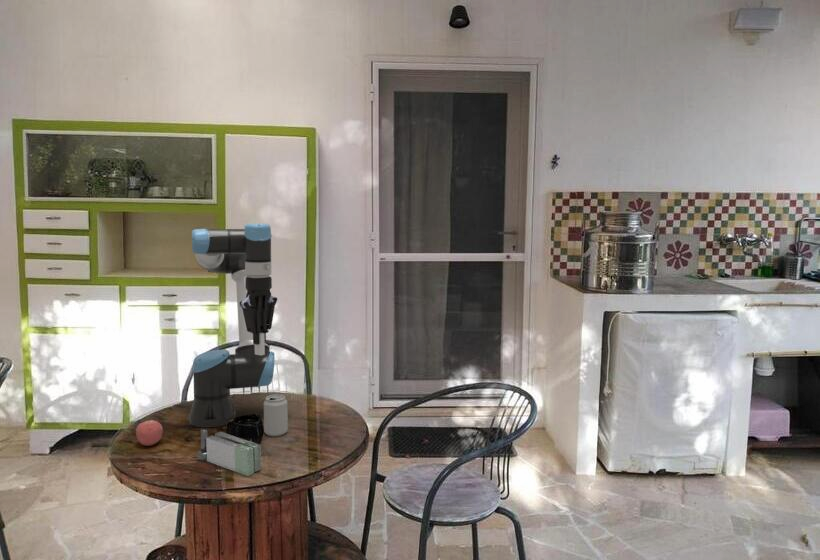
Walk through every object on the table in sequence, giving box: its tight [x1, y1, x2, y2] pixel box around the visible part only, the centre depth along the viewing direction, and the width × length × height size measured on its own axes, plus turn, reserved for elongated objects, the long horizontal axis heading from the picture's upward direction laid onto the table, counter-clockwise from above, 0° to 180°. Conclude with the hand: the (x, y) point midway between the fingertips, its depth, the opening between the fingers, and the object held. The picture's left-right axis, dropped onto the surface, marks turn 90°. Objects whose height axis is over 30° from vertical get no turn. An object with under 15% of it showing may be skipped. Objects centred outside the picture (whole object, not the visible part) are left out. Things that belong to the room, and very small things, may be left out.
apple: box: [135, 418, 164, 447], centre depth 187 cm, size 7×7×8 cm
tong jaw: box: [214, 431, 262, 473], centre depth 173 cm, size 17×2×7 cm, turn 55°
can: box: [263, 394, 289, 437], centre depth 197 cm, size 8×8×12 cm
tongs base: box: [196, 428, 255, 477], centre depth 172 cm, size 21×4×8 cm, turn 56°
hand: (259, 354), depth 184 cm, fingers closed
